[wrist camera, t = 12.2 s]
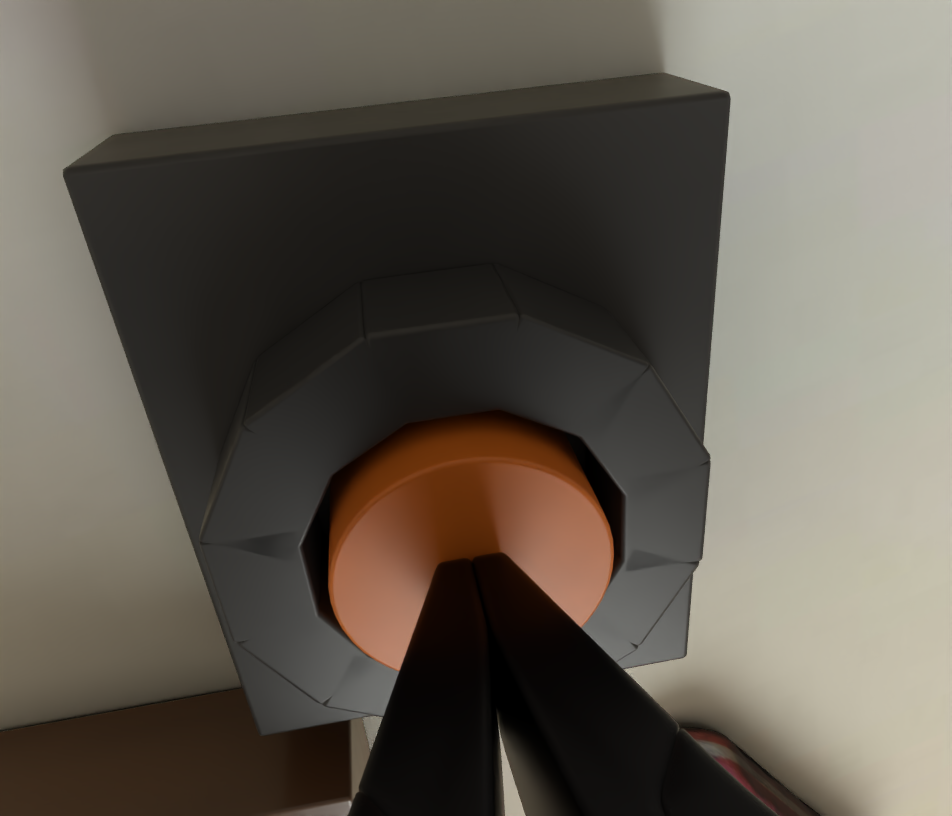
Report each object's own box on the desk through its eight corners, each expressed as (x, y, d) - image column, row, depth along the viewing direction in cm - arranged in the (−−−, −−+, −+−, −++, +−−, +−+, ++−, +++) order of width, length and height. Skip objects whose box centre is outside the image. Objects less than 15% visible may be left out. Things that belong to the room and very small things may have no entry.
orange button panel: (647, 579, 16) (730, 741, 13) (267, 646, 16) (247, 837, 12) (668, 71, 11) (813, 112, 8) (107, 134, 10) (-6, 211, 7)
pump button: (575, 558, 12) (614, 655, 11) (352, 596, 12) (354, 703, 10) (569, 359, 10) (617, 436, 9) (307, 397, 10) (301, 486, 8)
